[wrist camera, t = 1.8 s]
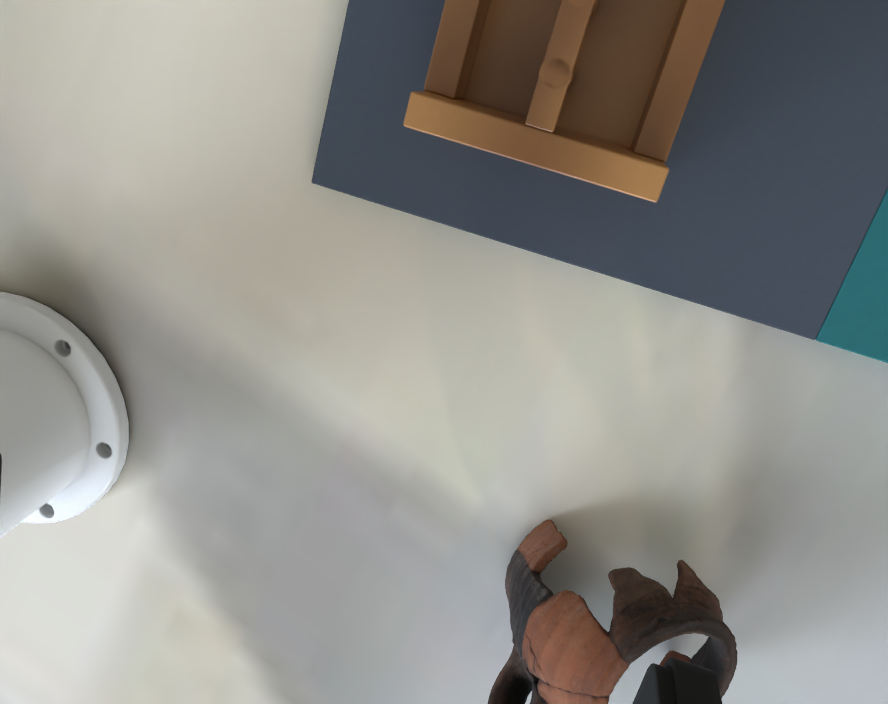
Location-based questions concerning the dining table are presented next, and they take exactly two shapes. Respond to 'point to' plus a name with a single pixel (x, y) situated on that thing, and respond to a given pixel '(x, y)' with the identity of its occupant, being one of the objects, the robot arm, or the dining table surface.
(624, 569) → the pottery mug
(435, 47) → the rack
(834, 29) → the mat
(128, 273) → the dining table surface
